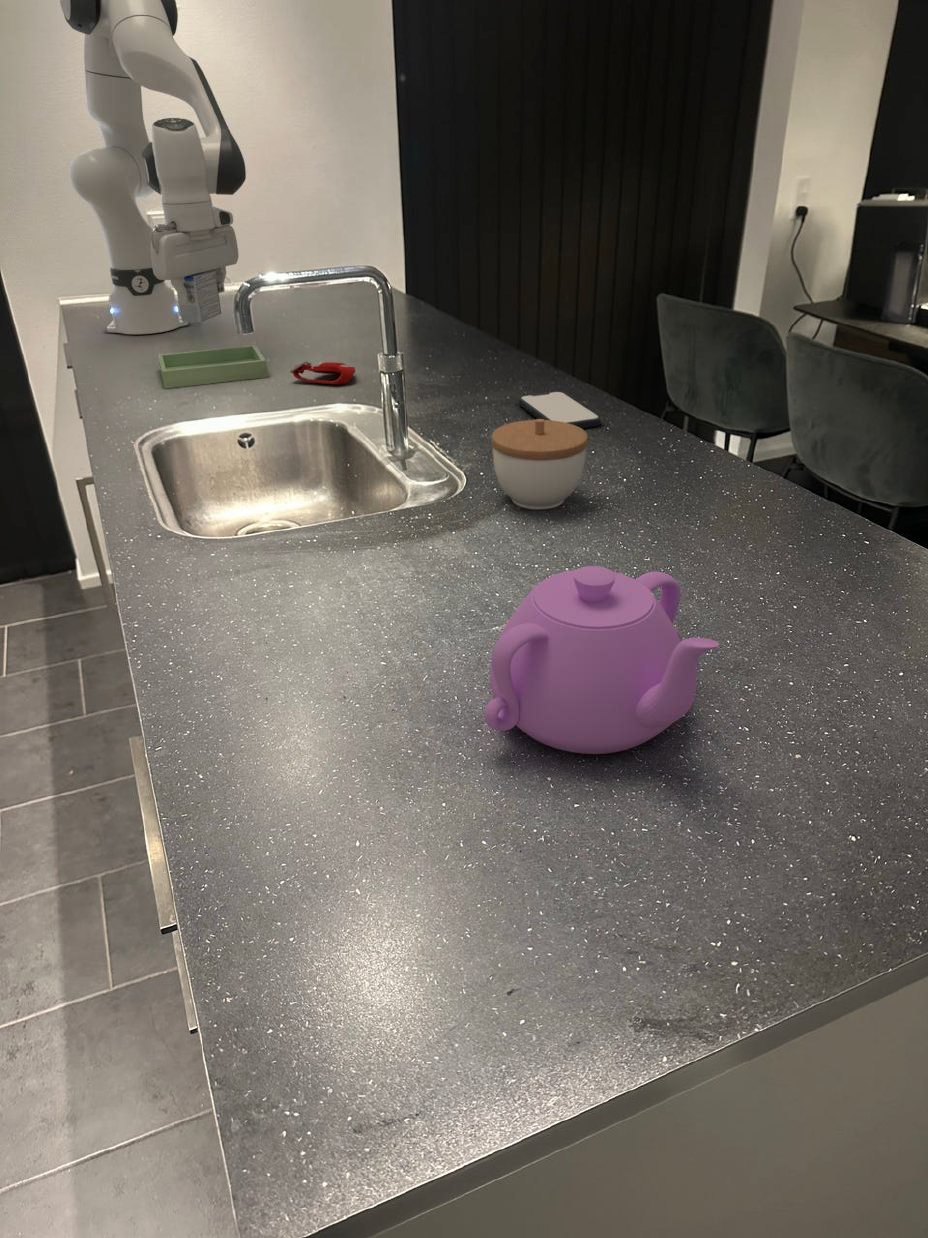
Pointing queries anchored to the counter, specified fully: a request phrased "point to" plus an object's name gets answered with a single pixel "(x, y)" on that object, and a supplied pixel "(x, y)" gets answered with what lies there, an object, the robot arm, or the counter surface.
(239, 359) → the tray
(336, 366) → the tracker holder
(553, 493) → the lidded bowl
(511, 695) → the teapot
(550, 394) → the phone case
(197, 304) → the medicine box
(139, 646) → the counter surface
